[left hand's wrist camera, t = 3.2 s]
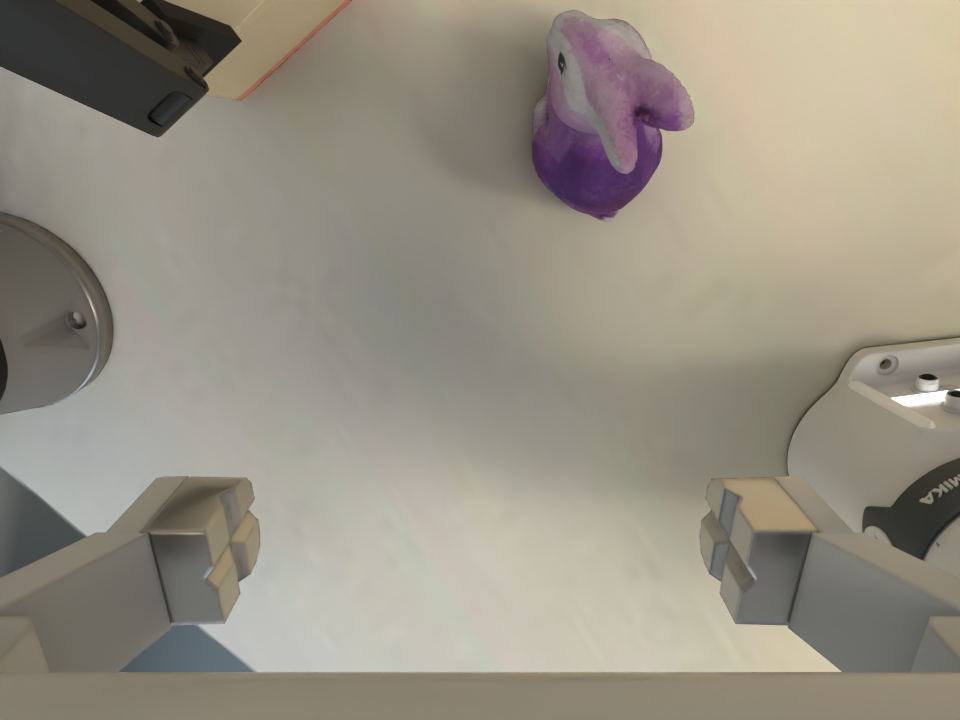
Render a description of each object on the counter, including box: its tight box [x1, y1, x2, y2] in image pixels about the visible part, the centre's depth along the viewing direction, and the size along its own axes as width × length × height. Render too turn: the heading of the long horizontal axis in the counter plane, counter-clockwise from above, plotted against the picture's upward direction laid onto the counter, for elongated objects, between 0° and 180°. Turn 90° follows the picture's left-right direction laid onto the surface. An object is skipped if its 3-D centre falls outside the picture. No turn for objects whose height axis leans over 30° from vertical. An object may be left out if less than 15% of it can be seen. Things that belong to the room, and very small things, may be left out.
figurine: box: [532, 10, 694, 221], centre depth 34 cm, size 9×10×15 cm
